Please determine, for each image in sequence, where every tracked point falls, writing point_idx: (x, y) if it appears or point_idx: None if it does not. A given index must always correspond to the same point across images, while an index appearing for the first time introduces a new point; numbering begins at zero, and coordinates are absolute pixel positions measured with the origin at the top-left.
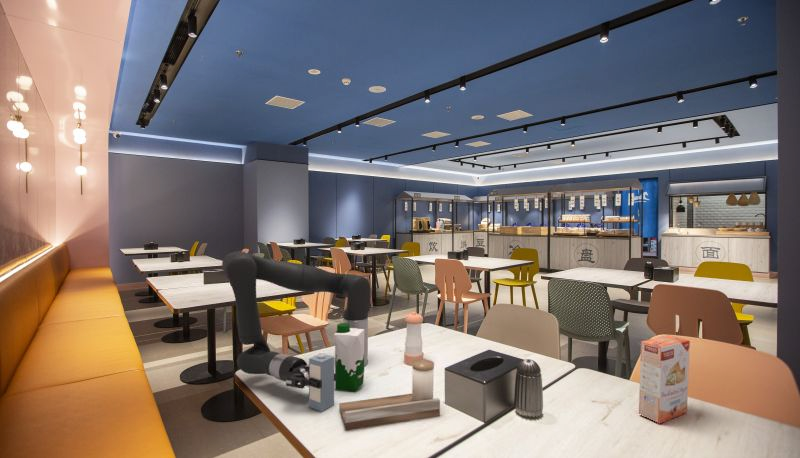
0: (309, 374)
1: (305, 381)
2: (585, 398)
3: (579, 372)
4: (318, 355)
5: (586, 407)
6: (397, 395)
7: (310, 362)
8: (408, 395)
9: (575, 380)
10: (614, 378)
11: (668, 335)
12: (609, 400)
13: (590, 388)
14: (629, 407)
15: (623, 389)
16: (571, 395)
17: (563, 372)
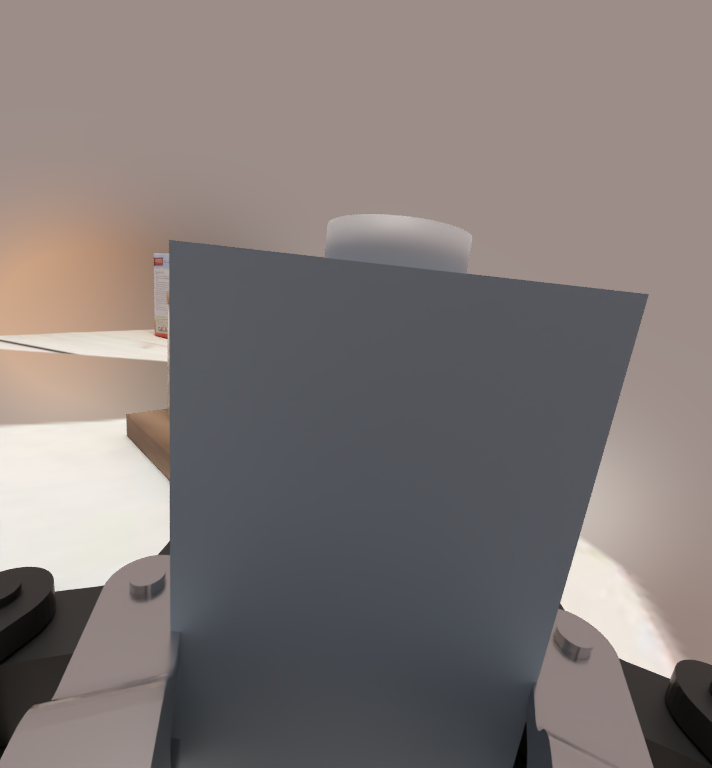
0: (539, 644)
1: (640, 675)
2: (135, 348)
3: (14, 339)
4: (459, 236)
5: (166, 351)
6: (164, 449)
7: (588, 384)
8: (162, 432)
9: (55, 344)
10: (58, 334)
11: (156, 253)
12: (142, 344)
13: (95, 343)
14: (163, 342)
15: (104, 337)
16: (122, 351)
17: (4, 343)
